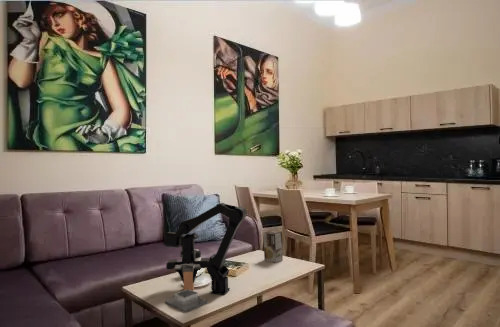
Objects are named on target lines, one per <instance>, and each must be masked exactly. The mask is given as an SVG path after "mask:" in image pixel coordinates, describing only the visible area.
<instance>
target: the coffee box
mask: <svg viewBox="0 0 500 327" xmlns="http://www.w3.org/2000/svg"><path fill="white" fill-rule="evenodd" d="M262 235H263V250H264V251H263V252H264V254H263V255H264V256H263V257H264V261H267V262H270V263H276V264H277V263H280V262H282V261H284V260H283V259H284V258H283V257H284V256H283V233H282V231H281V232H280V231H275V230H267V231H265V232H263V234H262Z"/></svg>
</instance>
